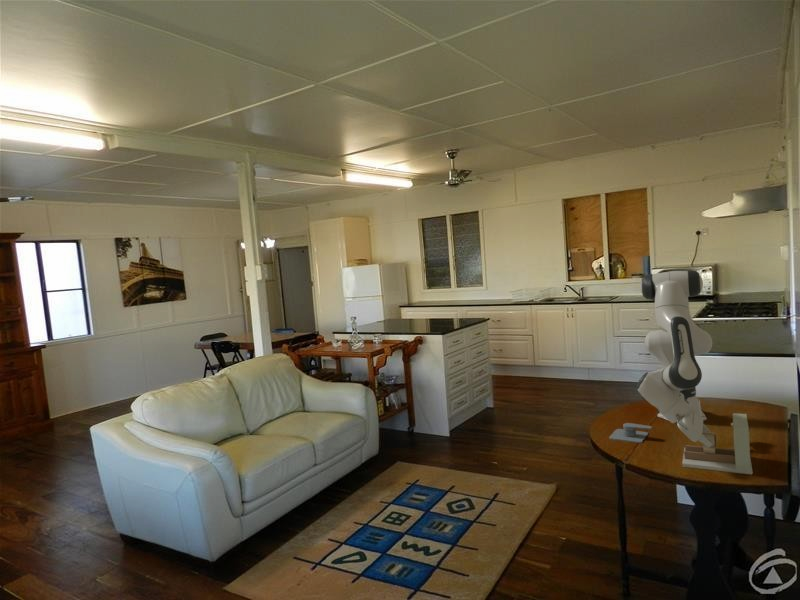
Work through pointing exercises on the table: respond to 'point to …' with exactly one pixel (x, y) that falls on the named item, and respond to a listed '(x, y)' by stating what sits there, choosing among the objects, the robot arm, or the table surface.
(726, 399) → the table surface
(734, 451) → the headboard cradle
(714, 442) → the beige wooden block
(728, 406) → the table surface
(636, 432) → the shower valve
